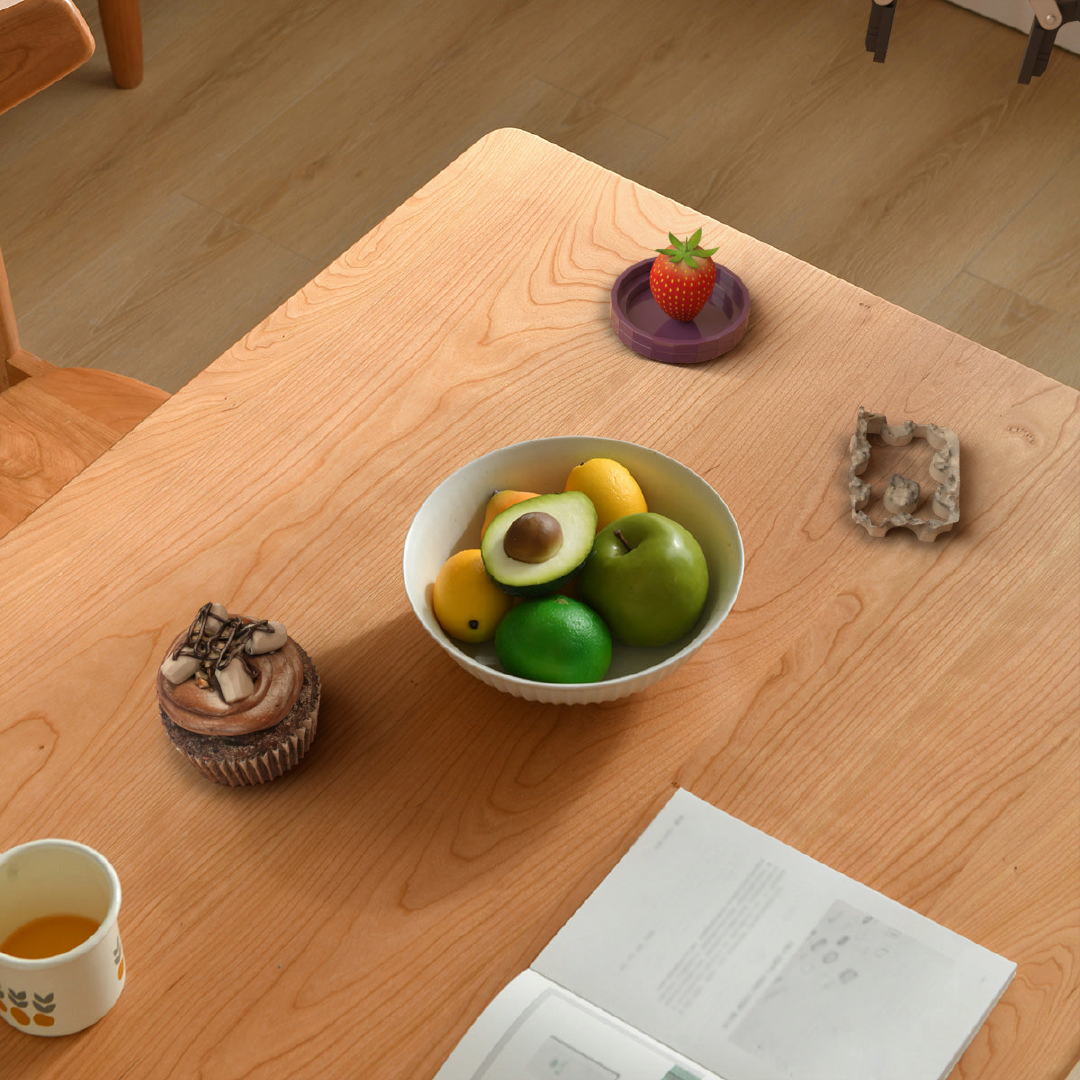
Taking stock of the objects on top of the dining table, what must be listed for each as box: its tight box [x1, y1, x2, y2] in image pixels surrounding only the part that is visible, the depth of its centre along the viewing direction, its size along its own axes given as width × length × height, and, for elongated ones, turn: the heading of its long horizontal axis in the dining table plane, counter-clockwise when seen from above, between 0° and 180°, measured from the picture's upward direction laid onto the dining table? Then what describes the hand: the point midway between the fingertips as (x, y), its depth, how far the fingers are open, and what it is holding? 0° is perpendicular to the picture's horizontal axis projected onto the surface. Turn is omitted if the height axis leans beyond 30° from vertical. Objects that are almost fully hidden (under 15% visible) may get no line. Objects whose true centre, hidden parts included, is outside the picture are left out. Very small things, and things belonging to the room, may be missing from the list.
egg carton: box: [848, 405, 961, 543], centre depth 95 cm, size 11×8×4 cm
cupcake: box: [154, 601, 322, 787], centre depth 80 cm, size 10×10×10 cm
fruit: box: [650, 227, 721, 322], centre depth 106 cm, size 5×5×8 cm
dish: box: [609, 255, 752, 364], centre depth 108 cm, size 11×11×3 cm
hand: (950, 67), depth 82 cm, fingers open, 8 cm apart
